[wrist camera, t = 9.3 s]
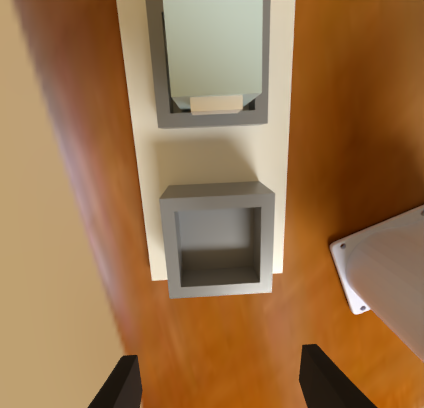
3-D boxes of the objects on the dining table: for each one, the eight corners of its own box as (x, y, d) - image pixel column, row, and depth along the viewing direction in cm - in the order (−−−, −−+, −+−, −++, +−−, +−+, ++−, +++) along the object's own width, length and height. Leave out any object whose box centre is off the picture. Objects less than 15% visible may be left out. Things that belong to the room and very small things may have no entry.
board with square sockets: (120, 0, 15) (81, -66, 10) (290, -4, 15) (330, -70, 10) (154, 273, 20) (139, 315, 16) (278, 266, 21) (301, 305, 16)
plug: (177, 44, 15) (161, -15, 9) (239, 42, 15) (262, -18, 9) (183, 121, 16) (172, 111, 10) (240, 118, 16) (261, 107, 10)
